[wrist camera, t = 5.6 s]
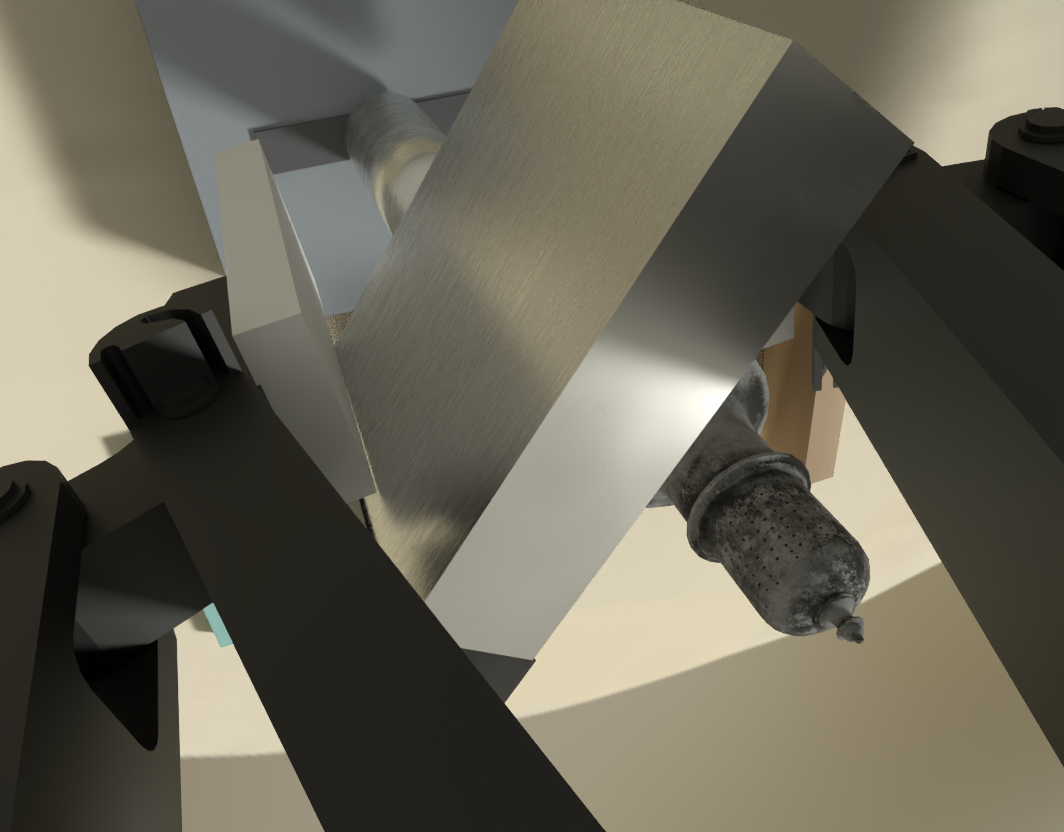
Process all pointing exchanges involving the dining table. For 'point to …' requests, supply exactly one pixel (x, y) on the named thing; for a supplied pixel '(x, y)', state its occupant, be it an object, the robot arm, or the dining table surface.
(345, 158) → the block
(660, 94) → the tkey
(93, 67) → the dining table surface
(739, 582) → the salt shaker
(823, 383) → the block
